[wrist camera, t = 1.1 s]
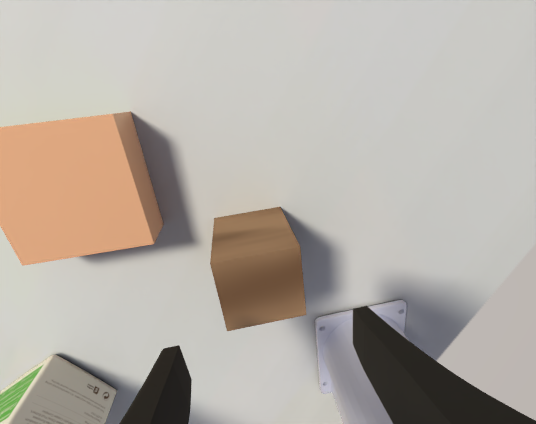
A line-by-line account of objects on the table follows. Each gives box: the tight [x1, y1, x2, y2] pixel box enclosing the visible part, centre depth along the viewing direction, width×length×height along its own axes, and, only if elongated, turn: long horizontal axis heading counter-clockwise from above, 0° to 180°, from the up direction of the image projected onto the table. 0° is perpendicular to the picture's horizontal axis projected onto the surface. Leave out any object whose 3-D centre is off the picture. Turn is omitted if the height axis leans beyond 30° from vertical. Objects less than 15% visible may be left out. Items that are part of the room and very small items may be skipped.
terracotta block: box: [0, 112, 163, 265], centre depth 15 cm, size 7×7×3 cm
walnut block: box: [210, 207, 306, 331], centre depth 17 cm, size 4×4×6 cm
